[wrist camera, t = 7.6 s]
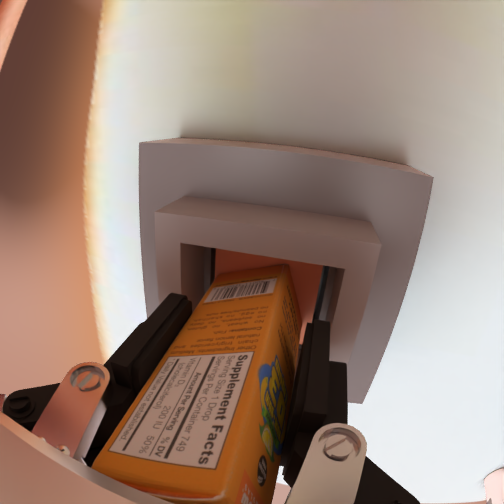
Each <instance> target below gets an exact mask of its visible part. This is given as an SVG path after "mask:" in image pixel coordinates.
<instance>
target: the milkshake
mask: <svg viewBox="0 0 504 504" xmlns="http://www.w3.org/2000/svg"><path fill="white" fill-rule="evenodd" d="M484 484H485V493H486V504H504V468H501V469H498V470H496V471H494V472H492V473H491V474H489V475H488V476H487V477H486V478H485V479H484Z"/></svg>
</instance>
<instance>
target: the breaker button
mask: <svg viewBox="0 0 504 504" xmlns="http://www.w3.org/2000/svg"><path fill="white" fill-rule="evenodd" d="M280 264H288V265H289V268H290V272H291V276H292V280H293V283H294V287H295V292H296V296H297V300H298V304H299V309H300V314H301V318H302V328H301V334H300V341H299V344H302V343H303V339H304V334H305V329H306V325H307V322H308V323H312V319H313V314H314V309H315V304H316V299H317V294H318V289H319V284H320V279H321V273H322V268H323V265H318V264H311V263H305V262H299V261H292V260H286V259H280V258H273V257H267V256H261V255H254V254H248V253H242V252H235V251H229V250H223V249H217V248H216V255H215V278H216V276H217V275H219V274H223V273H230V272H237V271H243V270H250V269H256V268H262V267H268V266H274V265H280Z"/></svg>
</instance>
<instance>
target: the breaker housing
mask: <svg viewBox="0 0 504 504" xmlns="http://www.w3.org/2000/svg"><path fill="white" fill-rule="evenodd" d="M432 183H433V177H431V176H429V175H427V174H425V173H423V172H421V171H419V170H417V169H414V168H412V167H410V166H408V165H403V164H398V163H393V162H388V161H383V160H378V159H373V158H367V157H362V156H356V155H350V154H344V153H338V152H331V151H324V150H317V149H310V148H302V147H294V146H286V145H277V144H267V143H256V142H245V141H231V140H216V139H196V138H172V139H164V140H155V141H148V142H140V143H139V213H140V238H141V255H142V269H143V281H144V292H145V303H146V312H147V318H148V317H149V316H150V315H151V314H152V313H153V312H154V311H155V309H156V308H157V307H158V306H159V305H160V304H161V303H162V302H163V300H164V299H165V298H166V297H167V296H168V295H169V294H170V293H177V294H181V295H186V296H187V298H188V300H190V301H192V313H193V311H194V310H195V308H196V307H197V305H198V304H199V302H200V301H201V299H202V298H203V297H204V295H205V293H206V292H207V290H208V289H209V288H210V286H211V284H212V283H213V281H214V279H215V255H216V248H217V249H223V250H229V251H235V252H242V253H248V254H254V255H261V256H267V257H273V258H280V259H286V260H292V261H299V262H305V263H311V264H318V265H323V268H322V273H321V279H320V284H319V289H318V294H317V299H316V304H315V309H314V314H313V319H312V323H313V321H314V319H317V320H323V321H330V356H329V361H336V362H343V363H346V364H347V398H348V402H350V403H360V404H362V403H363V401H364V399H365V397H366V394H367V392H368V390H369V388H370V385H371V383H372V381H373V379H374V376H375V374H376V372H377V369H378V367H379V364H380V362H381V359H382V357H383V354H384V352H385V349H386V347H387V344H388V342H389V339H390V336H391V334H392V331H393V328H394V325H395V322H396V320H397V317H398V314H399V311H400V308H401V305H402V302H403V299H404V296H405V292H406V289H407V286H408V283H409V279H410V276H411V273H412V269H413V266H414V262H415V258H416V255H417V251H418V247H419V243H420V239H421V235H422V231H423V227H424V222H425V218H426V213H427V209H428V204H429V199H430V194H431V188H432ZM301 348H302V344H299V348H298V356H297V362H296V369H295V375H296V370H297V366H298V362H299V357H300V353H301ZM294 379H295V376H294Z"/></svg>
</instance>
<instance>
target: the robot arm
mask: <svg viewBox="0 0 504 504" xmlns="http://www.w3.org/2000/svg"><path fill="white" fill-rule="evenodd" d="M191 315H192V301H190V300H188V298H187V296H186V295H181V294H177V293H170V294H169V295H168V296H167V297H166V298H165V299H164V300H163V302H162V303H161V304H160V305H159V306H158V307H157V308H156V309H155V311H154V312H153V313H152V314H151V315H150V316H149V317H148V318H147V320H146V321H145V322H143V323H141V324H139V325H138V327H137V328H136V329H135V330H134V331H133V332H132V333H131V334H130V336H129V337H128V338H127V339H126V340H125V341H124V342H123V343H122V345H121V346H120V347H119V348H118V349H117V350H116V351H115V353H114V354H113V355H112V356H111V357H110V358H109V360H108V361H107V362H106V363H105V364H104V365H101V364H98V363H94V362H85V363H81V364H78V365H76V366H74V367H73V368H71V369H70V370H69V372H68V373H67V374H66V376H65V377H64V379H63V381H62V382H61V383H57V384H52V385H46V386H41V387H35V388H29V389H23V390H18V391H15V392H13V393H11V394H10V395H9V396H8V397H7V396H6V395H5V394H0V504H174V503H171V502H168V501H165V500H162V499H160V498H157V497H154V496H152V495H149V494H147V493H144V492H142V491H139V490H137V489H134V488H132V487H130V486H127V485H125V484H123V483H121V482H118V481H116V480H114V479H112V478H110V477H108V476H106V475H104V474H102V473H100V472H98V471H96V470H94V469H92V468H91V467H92V465H93V463H94V460H95V459H96V457H97V456H98V455H99V453H100V452H101V450H102V449H103V447H104V446H105V444H106V442H107V441H108V440H109V438H110V437H111V435H112V434H113V432H114V430H115V429H116V427H117V426H118V424H119V423H120V421H121V420H122V419H123V417H124V415H125V414H126V412H127V411H128V409H129V408H130V406H131V405H132V404H133V402H134V401H135V399H136V397H137V396H138V394H139V393H140V391H141V390H142V388H143V387H144V385H145V384H146V382H147V381H148V379H149V378H150V376H151V375H152V373H153V372H154V370H155V369H156V367H157V365H158V364H159V362H160V361H161V359H162V358H163V356H164V355H165V353H166V352H167V350H168V349H169V347H170V346H171V344H172V343H173V341H174V340H175V338H176V337H177V335H178V334H179V332H180V331H181V329H182V328H183V326H184V325H185V323H186V322H187V320H188V319H189V317H190V316H191ZM329 356H330V321H323V320H317V319H314V321H313V323H308V322H307V325H306V329H305V334H304V339H303V343H302V348H301V353H300V357H299V362H298V366H297V370H296V375H295V379H294V384H293V390H292V397H291V403H290V410H289V415H288V421H287V426H286V432H285V437H284V442H283V447H282V452H281V460H280V465H279V466H284V468H283V473H282V475H284V478H283V479H284V480H285V481H286V483H287V484H288V485H289V486H290V487H291V490H290V492H289V494H288V496H287V499H286V501H285V503H284V504H420V502H419V501H418V500H417V499H416V498H415V497H414V496H413V495H412V494H410V493H409V492H408V491H407V490H405V489H404V488H403V487H402V486H401V485H399V484H398V483H397V482H396V481H395V480H393V479H392V478H391V477H390V476H389V475H387V474H386V473H385V472H384V471H383V470H381V469H380V468H379V467H378V466H377V465H376V464H374V463H373V462H372V461H371V460H370V459H369V458H368V457H366V451H367V443H366V440H365V437H364V436H363V435H362V433H361V432H360V431H359V430H357V429H356V428H354V427H353V426H350V425H347V415H348V398H347V364H346V363H343V362H336V361H329Z"/></svg>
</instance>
